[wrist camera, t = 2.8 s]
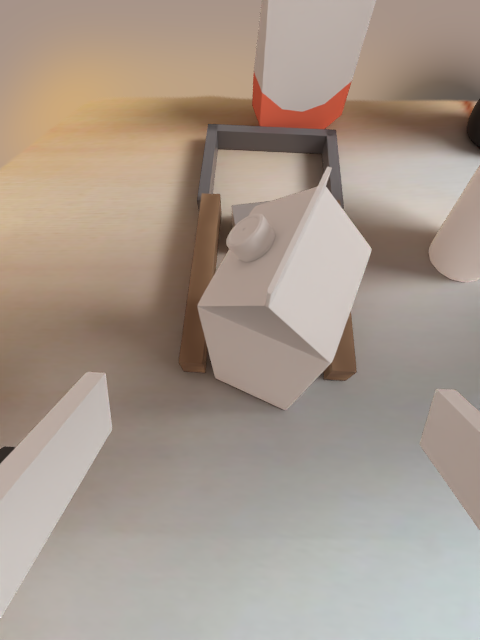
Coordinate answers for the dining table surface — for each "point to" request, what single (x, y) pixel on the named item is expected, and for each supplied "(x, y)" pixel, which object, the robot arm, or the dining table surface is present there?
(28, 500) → the robot arm
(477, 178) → the foam cup
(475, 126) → the cola bottle
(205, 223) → the channel
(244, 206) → the chip
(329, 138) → the grey u-shaped frame
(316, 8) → the french fries container
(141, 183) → the dining table surface
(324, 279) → the milk carton
